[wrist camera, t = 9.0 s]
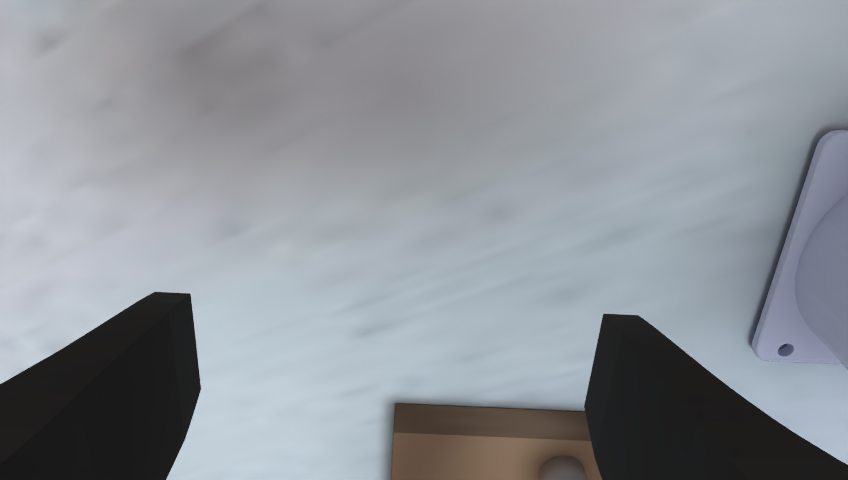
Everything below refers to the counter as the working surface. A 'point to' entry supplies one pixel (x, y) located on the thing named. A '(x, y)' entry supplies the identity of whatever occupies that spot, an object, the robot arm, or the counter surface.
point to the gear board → (490, 444)
